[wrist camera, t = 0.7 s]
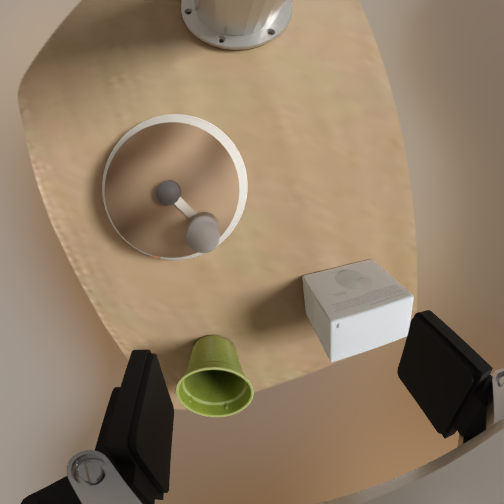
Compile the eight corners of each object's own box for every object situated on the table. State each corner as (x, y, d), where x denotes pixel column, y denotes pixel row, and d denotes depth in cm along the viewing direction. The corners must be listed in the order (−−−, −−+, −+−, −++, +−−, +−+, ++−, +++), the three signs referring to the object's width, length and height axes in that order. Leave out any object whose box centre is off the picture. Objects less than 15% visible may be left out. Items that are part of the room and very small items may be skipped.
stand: (127, 103, 27) (121, 101, 25) (263, 137, 31) (267, 137, 29) (98, 235, 32) (92, 241, 30) (223, 267, 36) (223, 275, 34)
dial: (86, 193, 28) (65, 203, 23) (173, 96, 26) (165, 87, 21) (174, 276, 33) (168, 299, 28) (265, 190, 31) (275, 199, 26)
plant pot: (196, 379, 42) (195, 422, 34) (169, 335, 38) (162, 378, 30) (254, 364, 42) (262, 407, 34) (233, 316, 38) (239, 359, 30)
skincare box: (305, 315, 40) (330, 365, 30) (301, 274, 38) (328, 320, 28) (372, 297, 40) (409, 338, 31) (372, 257, 38) (415, 293, 28)
